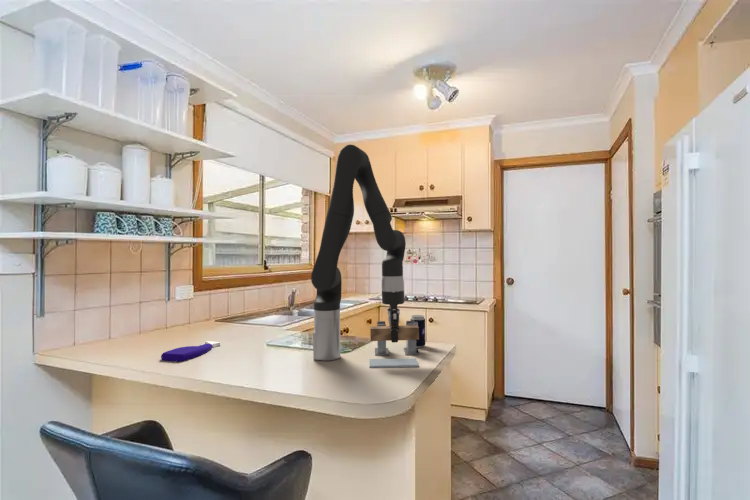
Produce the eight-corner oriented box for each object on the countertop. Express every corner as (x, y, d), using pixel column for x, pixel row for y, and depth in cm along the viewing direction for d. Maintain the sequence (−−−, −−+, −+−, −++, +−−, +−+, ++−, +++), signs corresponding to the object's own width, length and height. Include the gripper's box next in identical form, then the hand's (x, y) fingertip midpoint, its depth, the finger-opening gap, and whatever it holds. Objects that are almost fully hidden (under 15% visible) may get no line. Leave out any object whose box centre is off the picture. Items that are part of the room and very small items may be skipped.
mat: (369, 367, 131) (369, 365, 131) (369, 360, 139) (369, 359, 139) (418, 367, 131) (418, 365, 131) (415, 360, 139) (415, 358, 139)
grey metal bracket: (375, 355, 145) (374, 325, 145) (374, 349, 154) (374, 320, 154) (388, 355, 145) (388, 324, 145) (387, 349, 154) (387, 320, 154)
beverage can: (424, 348, 154) (424, 317, 154) (410, 348, 156) (409, 317, 156) (425, 345, 160) (425, 314, 160) (411, 344, 161) (411, 314, 161)
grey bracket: (405, 355, 146) (405, 324, 145) (403, 349, 154) (403, 320, 154) (419, 354, 146) (419, 324, 146) (416, 348, 154) (416, 320, 154)
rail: (370, 341, 133) (370, 328, 133) (370, 338, 137) (370, 326, 137) (419, 339, 133) (418, 327, 133) (417, 336, 137) (417, 325, 137)
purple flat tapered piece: (183, 354, 139) (226, 340, 163) (157, 353, 142) (203, 338, 166) (183, 363, 139) (226, 347, 163) (157, 361, 142) (203, 346, 166)
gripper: (380, 287, 142) (382, 336, 142) (382, 292, 128) (383, 346, 128) (402, 287, 142) (403, 335, 142) (406, 291, 128) (407, 345, 128)
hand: (394, 340), depth 135 cm, fingers closed on rail, 4 cm apart
